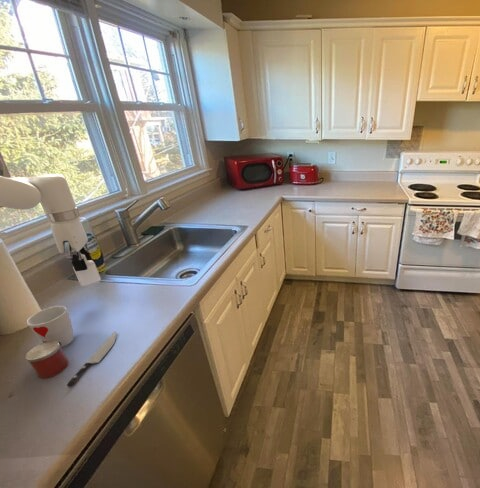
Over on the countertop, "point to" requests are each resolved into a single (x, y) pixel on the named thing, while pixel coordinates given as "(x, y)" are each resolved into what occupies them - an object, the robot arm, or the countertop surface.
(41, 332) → the cup
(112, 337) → the chef's knife
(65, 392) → the countertop surface
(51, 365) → the spice tin
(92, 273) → the eye dropper bottle
